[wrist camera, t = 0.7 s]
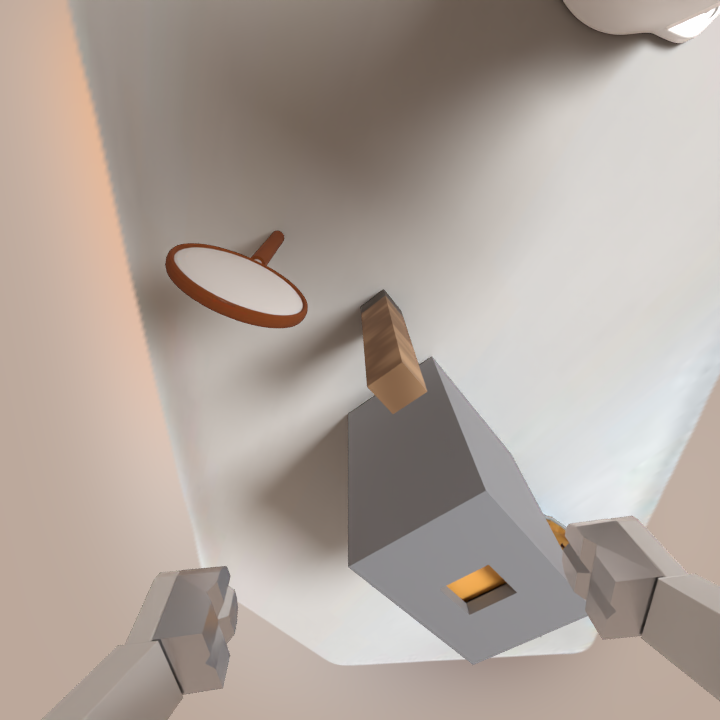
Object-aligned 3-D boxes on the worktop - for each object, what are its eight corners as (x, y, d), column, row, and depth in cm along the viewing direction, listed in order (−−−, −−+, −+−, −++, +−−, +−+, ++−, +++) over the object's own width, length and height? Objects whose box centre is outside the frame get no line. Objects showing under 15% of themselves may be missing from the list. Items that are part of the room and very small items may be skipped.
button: (479, 525, 34) (485, 540, 32) (513, 559, 36) (519, 575, 34) (423, 555, 35) (426, 571, 34) (458, 586, 37) (462, 603, 36)
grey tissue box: (431, 356, 45) (486, 490, 28) (511, 454, 52) (595, 612, 34) (348, 413, 49) (348, 567, 31) (432, 498, 55) (473, 664, 38)
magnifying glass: (324, 248, 40) (305, 329, 22) (316, 264, 40) (292, 355, 23) (239, 204, 38) (142, 255, 20) (232, 221, 38) (133, 285, 21)
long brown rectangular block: (383, 289, 42) (402, 362, 28) (401, 310, 43) (427, 391, 29) (360, 306, 43) (367, 386, 28) (378, 327, 44) (393, 414, 29)
